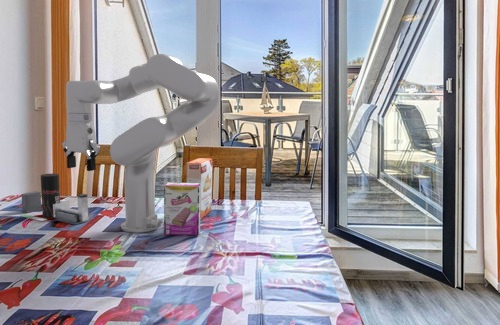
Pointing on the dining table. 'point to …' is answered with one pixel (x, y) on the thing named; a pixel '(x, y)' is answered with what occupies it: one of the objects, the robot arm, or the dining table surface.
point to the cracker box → (202, 181)
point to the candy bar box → (182, 208)
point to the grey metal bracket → (68, 218)
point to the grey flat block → (31, 202)
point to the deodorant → (49, 193)
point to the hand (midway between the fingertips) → (81, 169)
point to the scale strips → (39, 218)
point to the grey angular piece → (65, 207)
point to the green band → (27, 216)
